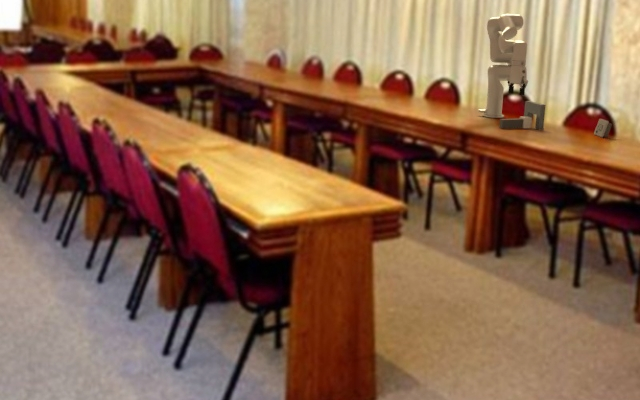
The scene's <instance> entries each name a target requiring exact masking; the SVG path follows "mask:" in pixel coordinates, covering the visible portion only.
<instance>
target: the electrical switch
mask: <svg viewBox="0 0 640 400" xmlns="http://www.w3.org/2000/svg"><path fill="white" fill-rule="evenodd" d="M609 121H610V120H606V119H603V118H599V119H598V122H597V125H596V127H595V129H594V132H593V135H594V136H597V137H600V138H603V137H604V138H608V136H609V133H610V131H611V128H612V125H613V123H610V122H609Z"/></svg>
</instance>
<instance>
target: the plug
mask: <svg viewBox="0 0 640 400" xmlns="http://www.w3.org/2000/svg"><path fill="white" fill-rule="evenodd" d="M532 121H533V117H532V118H531V117H528V116H524V115H523V116H519V118H499V125H498V128H499V129H502V130H503V129H507V130H508V129H531V128H532V123H533V122H532Z"/></svg>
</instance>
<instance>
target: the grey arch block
mask: <svg viewBox="0 0 640 400" xmlns="http://www.w3.org/2000/svg"><path fill="white" fill-rule="evenodd" d="M523 113H524V114H523V116H528V117H531V118H532V119H533V115H536V117H535V126H534V127H535V128H536V129H535V128H534V129H535V130H539V129H541V130H544V127H545V126H544V125H545V115H546V104H543V103H540V102H535V101H531V100H526V101H524V112H523Z"/></svg>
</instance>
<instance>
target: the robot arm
mask: <svg viewBox="0 0 640 400" xmlns="http://www.w3.org/2000/svg"><path fill="white" fill-rule="evenodd" d="M523 26H524V18H523V16H522V15H521V14H518V13H505V14H504V13H503V14H501V15H500V16H493V17H491V18H489V19H488V21H487V24H486V29H487V31H486V32H487V35H488V38H489V59H490V61H491V63H495V64H492V65H490V66H489V67H488V68H487V93H486V95H487V97H486V108H483V109H480V108H479V109H478V113H480V114H481V113H483V114H482V115H483V117H485V118H492V119H495V118H497V119H498V118H499V119H504V117H505V114H503V113H502V111H503V100H504V92H505V91H504V89H505V88H504V86H503V84H502V82H507V86H508V93H507V94H514V91H515V86H514V85H518V86H520V88H519V94H518V95H519V96H525V93H526V92H525V90H526V87H527V86H528V83H529V80H528V79H527V76H528V75H527V66H526V63H527V51H528V43H527V41H523V40H511V39H513V38H515V37H516V36H517V34H518V31H519V30H521V29H522V28H523Z"/></svg>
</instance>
